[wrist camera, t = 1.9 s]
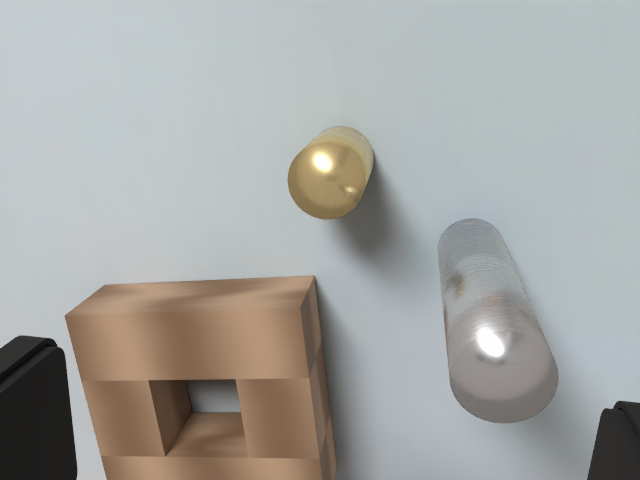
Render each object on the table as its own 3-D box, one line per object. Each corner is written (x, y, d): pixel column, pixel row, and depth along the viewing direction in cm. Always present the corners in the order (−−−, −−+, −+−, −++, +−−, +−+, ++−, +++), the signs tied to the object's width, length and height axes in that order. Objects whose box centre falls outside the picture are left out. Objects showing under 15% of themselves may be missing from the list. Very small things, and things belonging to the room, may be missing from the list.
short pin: (371, 123, 28) (361, 139, 24) (376, 188, 29) (368, 216, 25) (305, 129, 29) (283, 146, 24) (312, 193, 30) (292, 221, 25)
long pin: (503, 216, 29) (558, 329, 17) (504, 278, 30) (558, 423, 18) (436, 220, 29) (447, 332, 18) (439, 281, 30) (451, 423, 19)
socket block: (314, 275, 31) (300, 307, 27) (337, 467, 35) (327, 518, 31) (104, 285, 33) (64, 315, 30) (146, 464, 37) (115, 511, 33)
